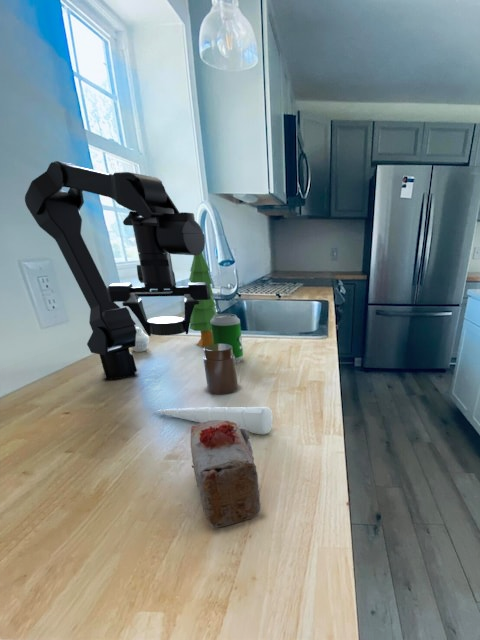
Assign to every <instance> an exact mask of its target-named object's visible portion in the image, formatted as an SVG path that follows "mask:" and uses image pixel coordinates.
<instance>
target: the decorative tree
mask: <svg viewBox="0 0 480 640" xmlns="http://www.w3.org/2000/svg"><path fill="white" fill-rule="evenodd" d="M210 270H211V269H210V267H209V265H208V263H207V261H206V259H205V257H204V254H203V252H202V253H201V254H200V255H193V259H192V263H191V267H190V275H189V278H188V280H189V281H190V283H194V282H205V283H206V284H207V285H208V286H209V291H210V299H209V300H199V302H200V304H196V305H195V306H194V309H193V312H192V315H191V319H190V325H189V330H192V331H195V332H200V339H199V341H198V342H197V346H199V347H201V348H204V347H205V346H207V345H211V344H213V337H212V329H211V322H210V321H211V319H212V318H213V316H214V315H218V313H217V311H216V310H215V307H217V304H216V302H215V300H214V299H213V296H214V292H213V289H212V286H211V285H212V284H213V281H212V279H211V275H210V273H209V272H210Z"/></svg>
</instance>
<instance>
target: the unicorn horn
mask: <svg viewBox="0 0 480 640" xmlns="http://www.w3.org/2000/svg"><path fill="white" fill-rule="evenodd" d="M156 412H157V413H158V414H161V415H164V416H167V417H168V416H169V417H173V418H176V419H182V420H186V421H190V422H195V423H199V424H200V423H203V422H207V421H210V420H225V421H230V422H234V423H236V424H237V426H239V425H240V426H239V427H238V428H239V429H245V430H246V431H247V433H253V434H258V435H266V434H268V433H269V432H270V431H271V429H272V427H273V423H274V422H273V421H274V417H273V411H272V410H271V408H270V407H268V406H247V407H246V406H230V407H227V406H225V407H224V406H219V407H218V406H217V407H211V406H209V407H184V408H183V407H182V408H167V409H158V410H156Z"/></svg>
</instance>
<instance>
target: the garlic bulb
mask: <svg viewBox="0 0 480 640" xmlns="http://www.w3.org/2000/svg"><path fill="white" fill-rule="evenodd" d="M135 328H136V332H137V333H136V343H135V347H130V348H131V349H132V350H133V352H136V353H141V352H146V350H147V348H148V346H149V343H150V336H148V334H147V333H145V332H144V331H143V330H144V329H142V327H140V326H135Z"/></svg>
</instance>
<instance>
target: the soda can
mask: <svg viewBox="0 0 480 640" xmlns="http://www.w3.org/2000/svg"><path fill="white" fill-rule="evenodd" d="M217 314H218V313H217ZM210 322H211V329H212V330H211V331H212V337H213V344H228V345H231V346H232V353H233V354H234V355H235V364H238V363H240V362H241V361H242V359H243V358H244V350H243V341H242V340H243V338H242V327H241V319H240V318H239V317H238V316H237V315H236V314H233V313H220V314H218V315H214V316H213V318H212V319H211V321H210Z"/></svg>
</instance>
